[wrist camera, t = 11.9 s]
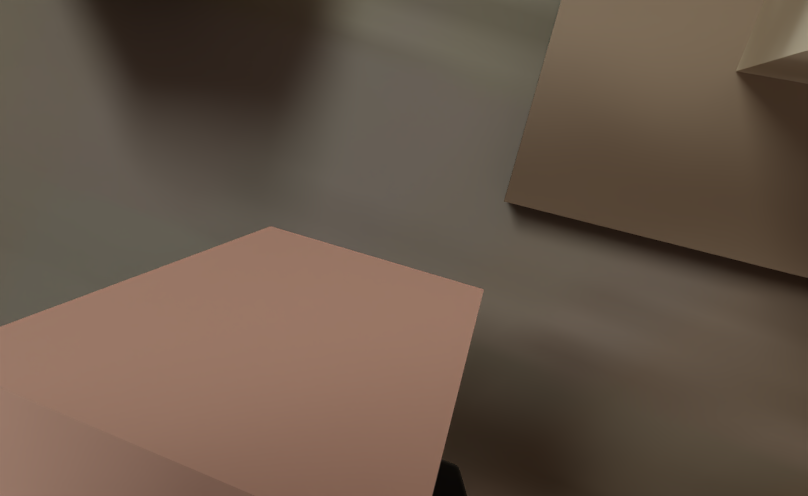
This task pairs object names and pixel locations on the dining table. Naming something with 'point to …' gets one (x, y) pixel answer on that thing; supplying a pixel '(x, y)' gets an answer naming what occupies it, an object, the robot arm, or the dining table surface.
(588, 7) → the walnut board
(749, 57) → the birch brick
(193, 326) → the terracotta brick
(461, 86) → the dining table surface
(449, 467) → the robot arm
